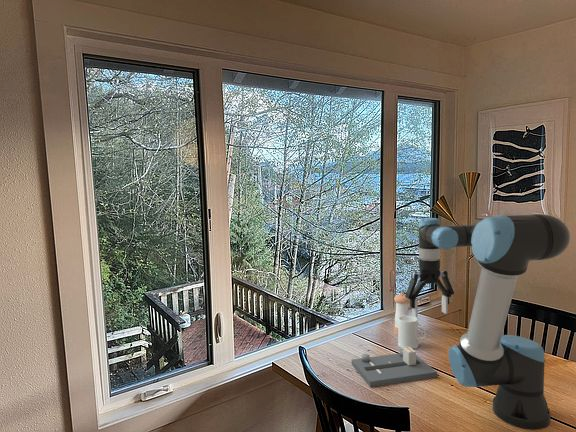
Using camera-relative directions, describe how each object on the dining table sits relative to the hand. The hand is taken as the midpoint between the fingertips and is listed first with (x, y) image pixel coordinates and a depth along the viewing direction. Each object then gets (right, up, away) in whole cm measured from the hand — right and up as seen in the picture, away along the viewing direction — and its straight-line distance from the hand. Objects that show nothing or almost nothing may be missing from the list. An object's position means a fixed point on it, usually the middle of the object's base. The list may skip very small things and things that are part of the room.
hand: (429, 314), depth 153 cm
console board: (-15, -21, -1) cm, 26 cm away
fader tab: (-8, -18, 0) cm, 20 cm away
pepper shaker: (-1, -17, +34) cm, 38 cm away
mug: (-1, -19, +20) cm, 27 cm away
